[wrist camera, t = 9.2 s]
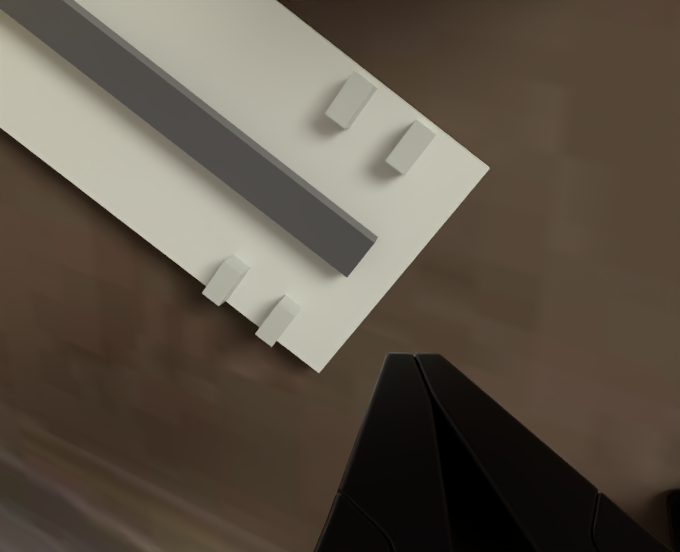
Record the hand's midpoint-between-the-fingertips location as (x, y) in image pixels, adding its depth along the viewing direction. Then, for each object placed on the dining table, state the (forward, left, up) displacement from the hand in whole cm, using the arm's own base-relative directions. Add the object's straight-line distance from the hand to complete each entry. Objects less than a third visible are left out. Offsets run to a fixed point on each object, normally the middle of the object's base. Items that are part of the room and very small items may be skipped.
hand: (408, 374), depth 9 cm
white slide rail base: (+10, +11, -12) cm, 19 cm away
